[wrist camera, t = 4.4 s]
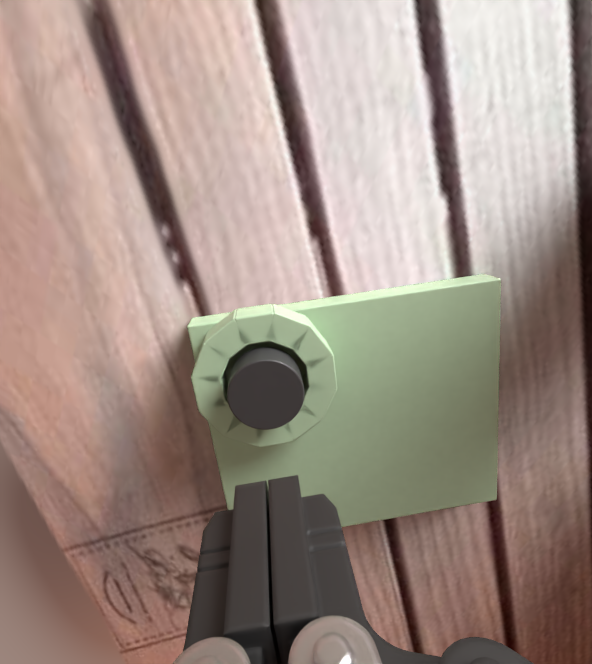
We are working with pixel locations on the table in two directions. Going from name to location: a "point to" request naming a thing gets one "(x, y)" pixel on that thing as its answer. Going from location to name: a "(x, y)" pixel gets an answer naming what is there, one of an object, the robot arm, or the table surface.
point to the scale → (367, 397)
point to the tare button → (265, 388)
